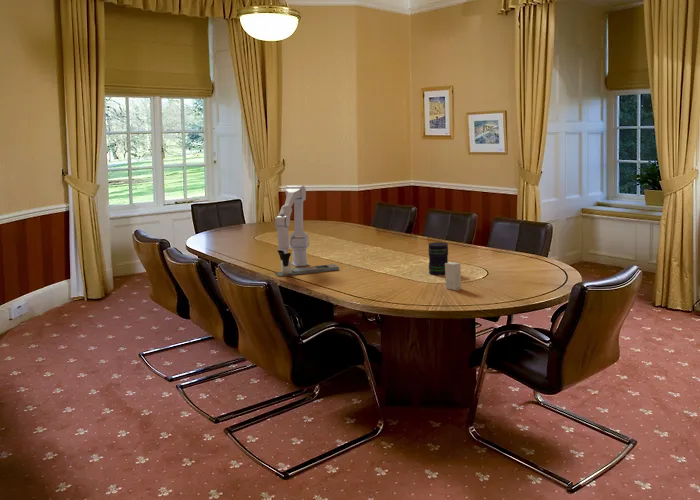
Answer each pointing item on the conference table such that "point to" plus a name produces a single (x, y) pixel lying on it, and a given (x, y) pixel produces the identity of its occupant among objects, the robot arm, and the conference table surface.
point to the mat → (283, 274)
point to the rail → (315, 269)
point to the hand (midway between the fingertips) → (284, 264)
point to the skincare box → (453, 276)
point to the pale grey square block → (286, 268)
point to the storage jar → (437, 258)
